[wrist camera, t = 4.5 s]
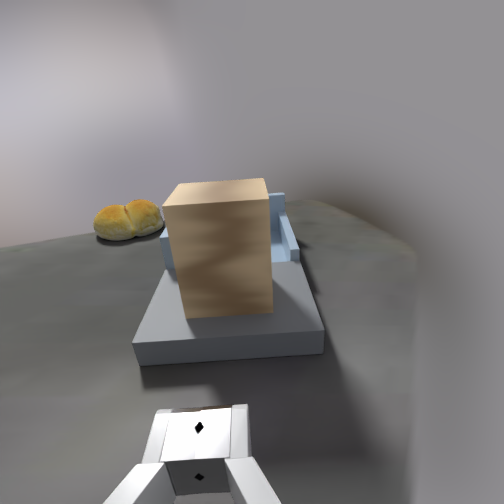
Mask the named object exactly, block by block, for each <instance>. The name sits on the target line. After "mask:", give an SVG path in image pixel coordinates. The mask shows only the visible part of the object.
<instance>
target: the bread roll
mask: <svg viewBox="0 0 504 504" xmlns="http://www.w3.org/2000/svg"><path fill="white" fill-rule="evenodd" d="M93 226H94V230H95V232H96V234H97V235H98V236H99V237H101V238H104V239H107V240H114V241H119V240H127V239H131V238H133V237H134V236H139V237H140V236H146V235H149V234H152V233H154V232H156V231H158V230H159V229H161V228H162V227H163V219H162V217H161V214H160V210H159V207H158V206H156V205H155V204H153V203H152V202H150V201H147V200H140V199H139V200H134V201H132V202H130V203H129V204H127V205H126V206H122V205H111V206H108V207H105V208H104V209H102V210H101V211H100V212H99V213H98V214H97V215H96V217H95V219H94V223H93Z"/></svg>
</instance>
